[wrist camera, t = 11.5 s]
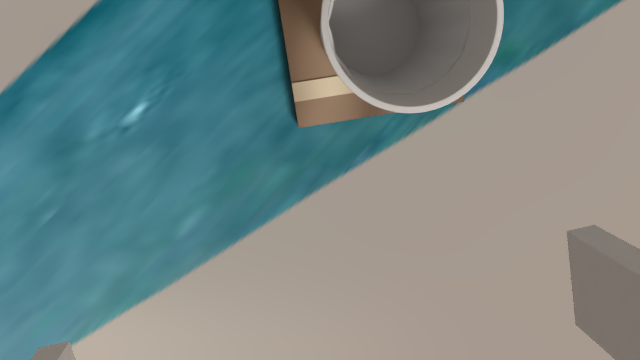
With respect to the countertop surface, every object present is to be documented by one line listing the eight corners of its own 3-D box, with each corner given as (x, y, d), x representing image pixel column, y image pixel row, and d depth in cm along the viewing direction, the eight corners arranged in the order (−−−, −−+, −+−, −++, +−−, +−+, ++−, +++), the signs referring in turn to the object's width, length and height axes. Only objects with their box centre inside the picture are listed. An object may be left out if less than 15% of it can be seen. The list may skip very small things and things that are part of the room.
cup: (369, 117, 38) (411, 149, 26) (279, 29, 36) (281, 22, 25) (457, 26, 37) (541, 18, 26) (369, -68, 36) (415, -123, 24)
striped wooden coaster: (297, 124, 40) (298, 128, 38) (270, -47, 37) (270, -51, 35) (457, 99, 40) (465, 101, 38) (441, -72, 37) (448, -78, 36)
